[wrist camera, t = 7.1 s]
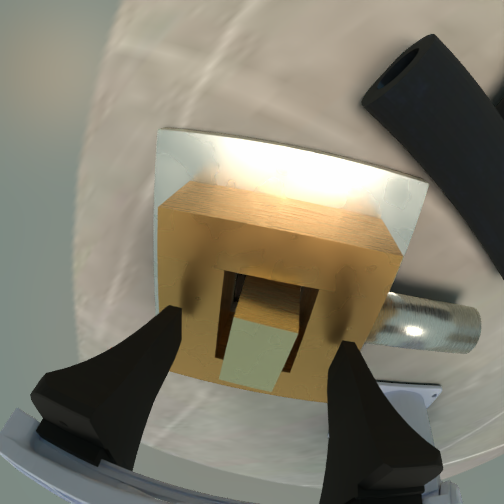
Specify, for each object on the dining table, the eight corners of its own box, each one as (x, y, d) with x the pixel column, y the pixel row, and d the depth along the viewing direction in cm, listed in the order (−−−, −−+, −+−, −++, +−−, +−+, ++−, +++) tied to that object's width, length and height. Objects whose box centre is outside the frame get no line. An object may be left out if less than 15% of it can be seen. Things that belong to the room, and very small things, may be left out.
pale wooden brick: (282, 303, 19) (271, 392, 13) (244, 293, 19) (218, 379, 13) (301, 248, 17) (298, 333, 11) (258, 237, 18) (233, 317, 11)
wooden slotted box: (409, 378, 21) (420, 427, 17) (162, 334, 22) (137, 383, 18) (498, 207, 14) (544, 243, 10) (165, 127, 15) (116, 141, 11)
